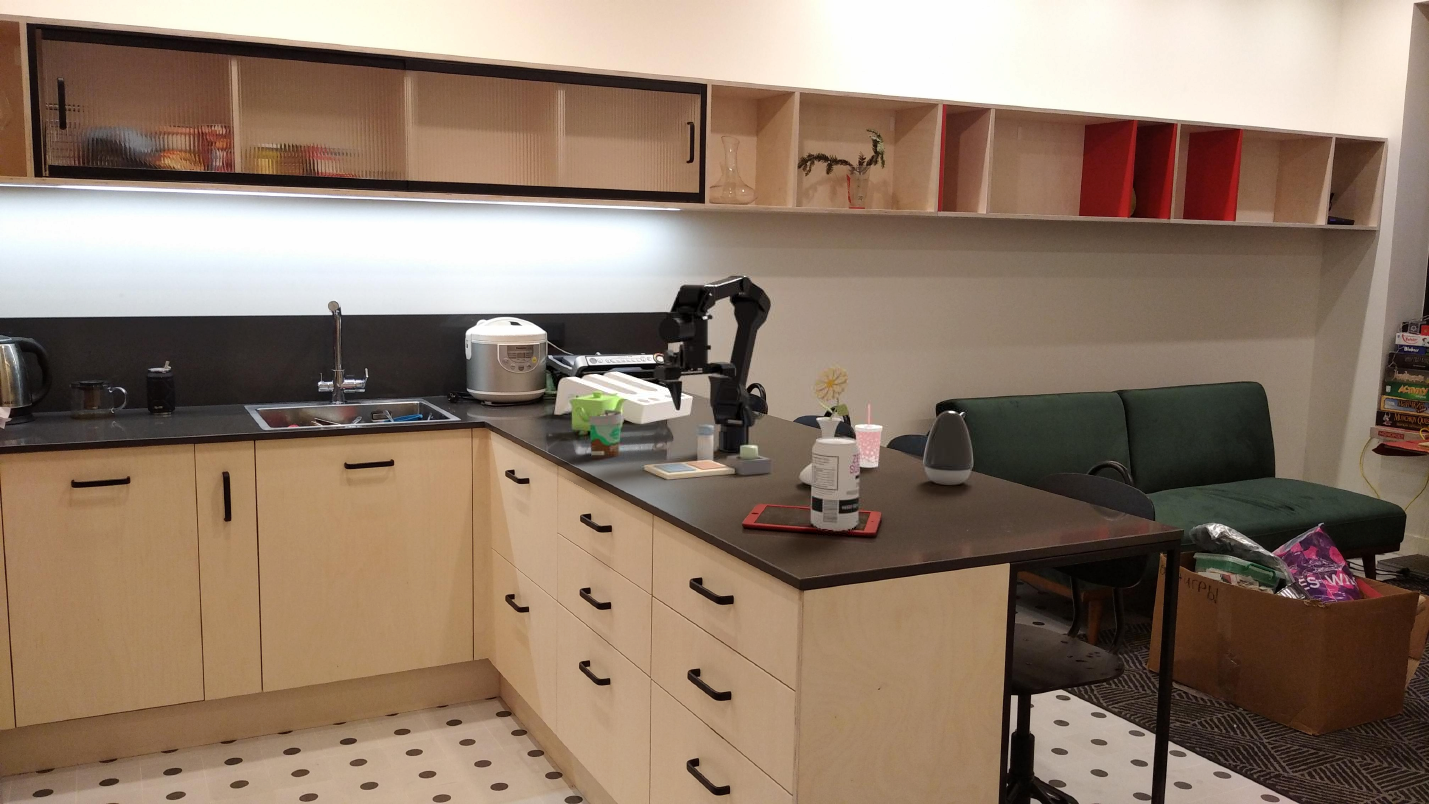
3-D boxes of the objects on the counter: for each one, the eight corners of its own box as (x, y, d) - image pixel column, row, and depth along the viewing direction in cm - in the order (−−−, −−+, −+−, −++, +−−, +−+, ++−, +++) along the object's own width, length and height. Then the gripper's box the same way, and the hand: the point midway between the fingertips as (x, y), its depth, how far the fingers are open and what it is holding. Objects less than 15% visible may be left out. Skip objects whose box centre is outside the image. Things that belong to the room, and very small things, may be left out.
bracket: (644, 405, 304) (559, 375, 321) (637, 445, 307) (554, 414, 323) (693, 396, 324) (611, 369, 340) (686, 435, 327) (605, 406, 343)
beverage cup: (880, 468, 241) (882, 406, 240) (853, 467, 243) (854, 405, 241) (882, 463, 247) (883, 403, 246) (855, 462, 248) (856, 402, 247)
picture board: (709, 464, 244) (709, 459, 244) (734, 473, 234) (734, 468, 234) (644, 469, 237) (644, 464, 237) (667, 479, 226) (667, 473, 226)
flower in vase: (789, 482, 225) (792, 362, 222) (838, 478, 229) (841, 361, 226) (818, 494, 213) (821, 368, 210) (869, 490, 217) (873, 366, 214)
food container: (615, 460, 248) (615, 417, 247) (589, 459, 249) (589, 416, 248) (629, 451, 260) (630, 410, 259) (605, 450, 261) (605, 409, 260)
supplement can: (806, 520, 191) (808, 436, 189) (852, 520, 192) (855, 436, 190) (814, 532, 183) (816, 444, 181) (862, 531, 184) (865, 444, 182)
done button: (752, 460, 239) (752, 444, 238) (760, 463, 235) (761, 447, 235) (737, 461, 237) (737, 445, 237) (745, 464, 234) (745, 448, 233)
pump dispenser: (982, 482, 227) (985, 410, 225) (955, 489, 219) (958, 415, 217) (940, 476, 234) (943, 406, 232) (912, 482, 226) (915, 410, 224)
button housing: (754, 467, 241) (754, 454, 241) (770, 472, 235) (770, 459, 235) (727, 469, 238) (727, 456, 238) (742, 475, 232) (742, 461, 231)
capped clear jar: (708, 459, 251) (709, 424, 250) (716, 461, 248) (716, 426, 246) (694, 460, 249) (694, 425, 248) (701, 463, 246) (702, 427, 245)
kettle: (617, 428, 297) (617, 387, 295) (632, 436, 284) (632, 393, 282) (563, 430, 291) (563, 389, 290) (576, 438, 278) (576, 395, 277)
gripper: (711, 336, 257) (711, 401, 259) (642, 339, 247) (642, 407, 249) (737, 339, 247) (736, 407, 250) (665, 343, 238) (666, 413, 240)
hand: (695, 408), depth 247 cm, fingers open, 9 cm apart
